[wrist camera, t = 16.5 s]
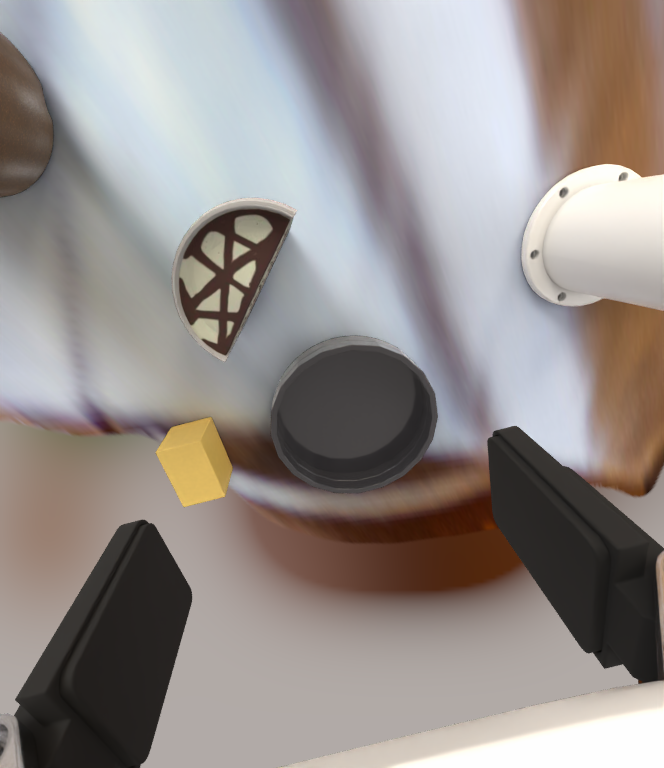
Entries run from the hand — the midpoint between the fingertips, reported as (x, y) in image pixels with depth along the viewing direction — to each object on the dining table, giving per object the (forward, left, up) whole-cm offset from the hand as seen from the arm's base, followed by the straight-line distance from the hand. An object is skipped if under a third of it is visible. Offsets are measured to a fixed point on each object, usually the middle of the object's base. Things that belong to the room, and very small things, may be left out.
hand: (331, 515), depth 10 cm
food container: (+5, -6, -28) cm, 30 cm away
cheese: (+15, +12, -28) cm, 34 cm away
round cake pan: (-2, +12, -28) cm, 31 cm away
